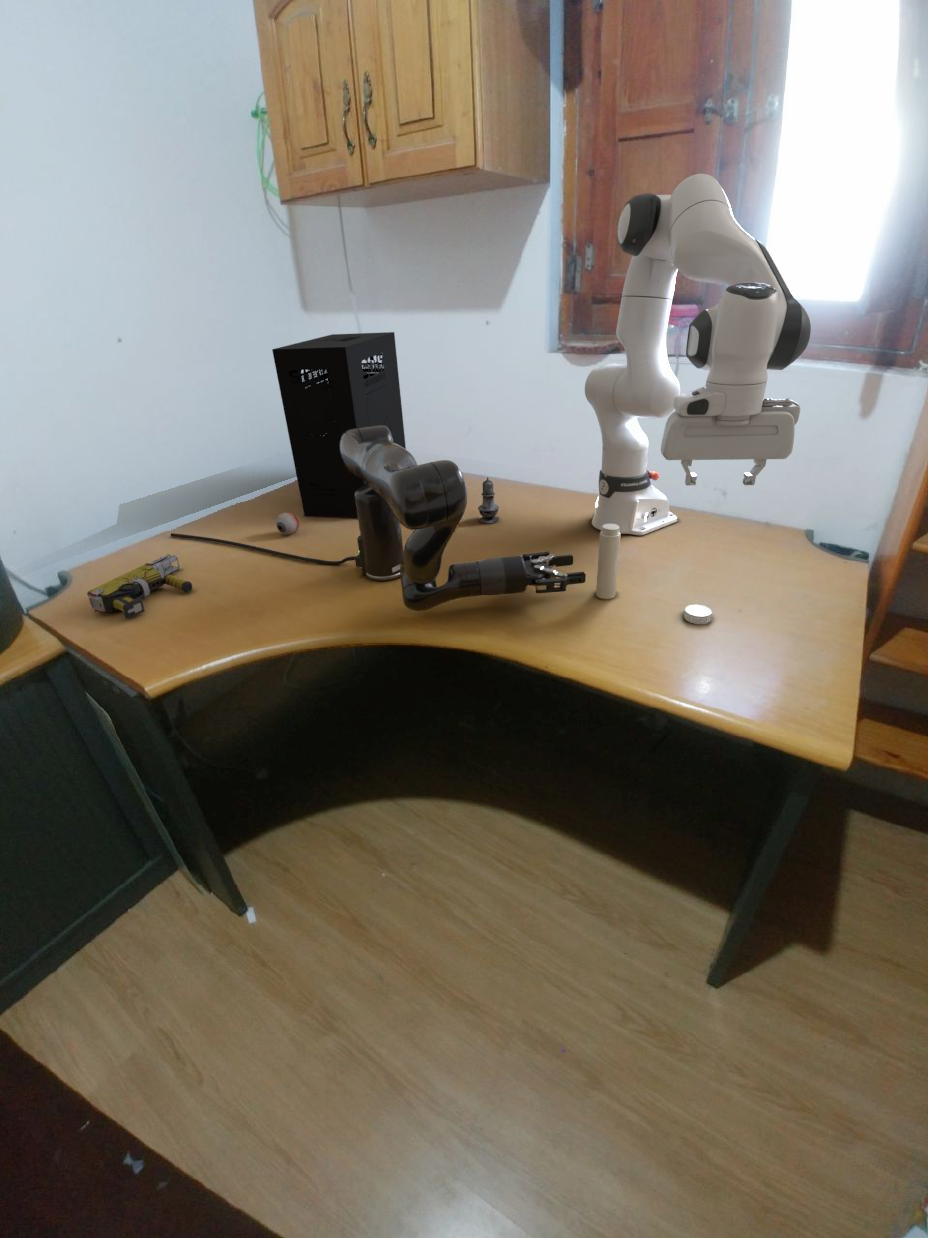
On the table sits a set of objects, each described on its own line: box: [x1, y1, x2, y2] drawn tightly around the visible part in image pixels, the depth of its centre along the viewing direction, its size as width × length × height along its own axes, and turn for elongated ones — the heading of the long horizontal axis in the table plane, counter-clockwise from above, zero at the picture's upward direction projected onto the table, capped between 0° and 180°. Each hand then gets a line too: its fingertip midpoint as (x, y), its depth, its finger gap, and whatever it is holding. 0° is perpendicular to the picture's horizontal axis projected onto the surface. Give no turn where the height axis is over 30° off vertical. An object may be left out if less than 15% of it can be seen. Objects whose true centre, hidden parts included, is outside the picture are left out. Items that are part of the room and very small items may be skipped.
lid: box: [683, 604, 713, 625], centre depth 116 cm, size 5×5×2 cm
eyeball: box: [275, 511, 300, 536], centre depth 163 cm, size 6×6×6 cm
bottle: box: [595, 524, 621, 600], centre depth 122 cm, size 4×4×15 cm
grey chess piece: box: [477, 477, 500, 524], centre depth 164 cm, size 6×6×12 cm
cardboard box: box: [271, 331, 407, 519], centre depth 180 cm, size 38×20×45 cm, turn 167°
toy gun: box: [86, 553, 193, 620], centre depth 136 cm, size 5×24×15 cm
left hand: (578, 568), depth 123 cm, fingers open, 8 cm apart
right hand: (719, 484), depth 103 cm, fingers open, 8 cm apart
